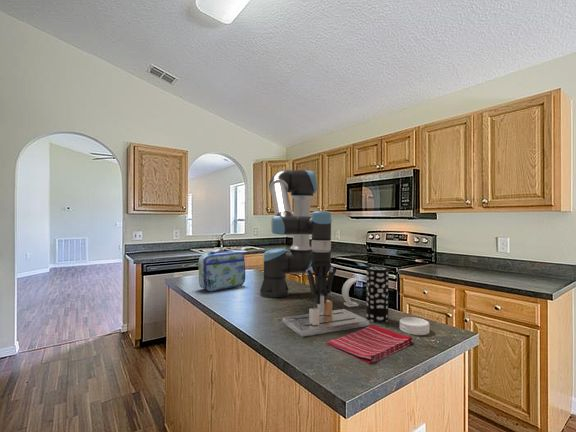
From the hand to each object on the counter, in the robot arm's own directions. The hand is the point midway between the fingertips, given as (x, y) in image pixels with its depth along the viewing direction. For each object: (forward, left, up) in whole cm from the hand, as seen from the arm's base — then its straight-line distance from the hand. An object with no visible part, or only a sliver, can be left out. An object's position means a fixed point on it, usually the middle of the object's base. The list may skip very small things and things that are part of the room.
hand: (320, 312), depth 123 cm
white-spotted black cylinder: (+7, +22, -4) cm, 23 cm away
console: (+4, 0, -3) cm, 5 cm away
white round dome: (+22, +26, -4) cm, 34 cm away
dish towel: (+26, +3, -4) cm, 27 cm away
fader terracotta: (0, +3, -1) cm, 3 cm away
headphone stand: (-14, +24, -4) cm, 28 cm away
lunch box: (-71, -22, -4) cm, 74 cm away
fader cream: (+8, -7, -1) cm, 11 cm away
